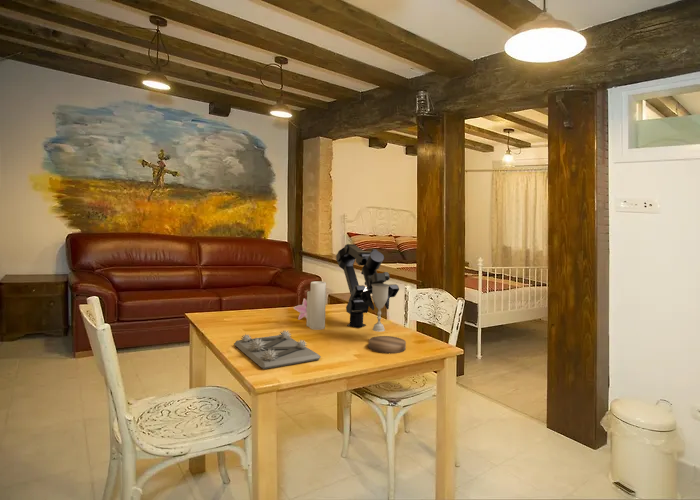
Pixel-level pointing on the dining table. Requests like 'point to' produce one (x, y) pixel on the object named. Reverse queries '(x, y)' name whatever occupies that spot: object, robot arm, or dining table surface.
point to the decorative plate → (276, 350)
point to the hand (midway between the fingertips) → (380, 309)
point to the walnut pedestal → (387, 344)
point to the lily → (302, 309)
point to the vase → (316, 305)
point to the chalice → (379, 302)
